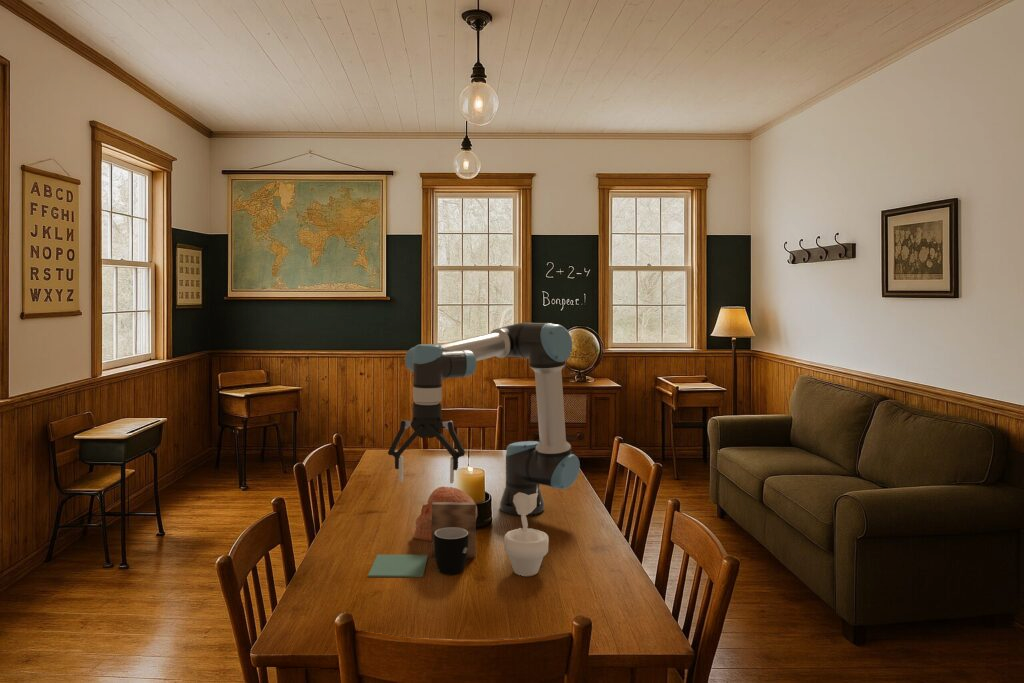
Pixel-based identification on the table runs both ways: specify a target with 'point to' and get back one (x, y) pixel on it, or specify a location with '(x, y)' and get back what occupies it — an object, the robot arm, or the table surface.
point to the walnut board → (455, 521)
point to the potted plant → (525, 539)
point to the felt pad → (398, 566)
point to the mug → (451, 549)
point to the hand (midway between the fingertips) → (426, 481)
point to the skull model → (425, 517)
